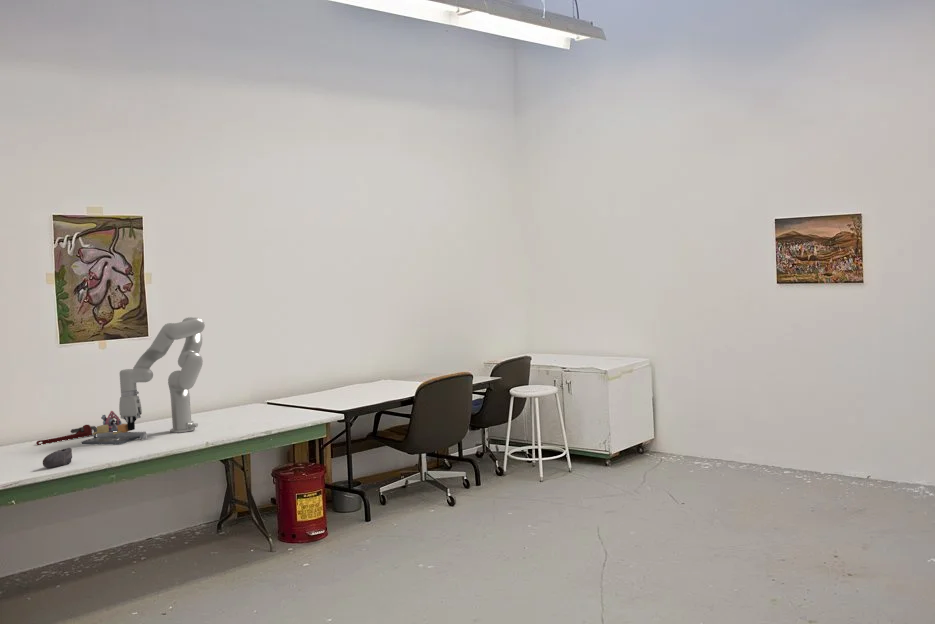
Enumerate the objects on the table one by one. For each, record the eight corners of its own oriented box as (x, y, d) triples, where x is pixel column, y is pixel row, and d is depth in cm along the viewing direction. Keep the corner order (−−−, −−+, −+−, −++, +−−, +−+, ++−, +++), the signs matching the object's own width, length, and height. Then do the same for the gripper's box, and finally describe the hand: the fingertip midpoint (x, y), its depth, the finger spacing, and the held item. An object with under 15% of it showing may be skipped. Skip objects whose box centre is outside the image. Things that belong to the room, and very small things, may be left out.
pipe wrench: (36, 446, 434) (96, 435, 455) (37, 446, 432) (98, 435, 453) (34, 433, 434) (95, 422, 455) (36, 434, 432) (97, 423, 453)
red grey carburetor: (116, 428, 456) (103, 410, 458) (103, 441, 459) (90, 423, 461) (130, 424, 467) (117, 407, 469) (117, 436, 470) (105, 419, 471)
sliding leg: (131, 433, 439) (130, 423, 439) (117, 438, 428) (116, 427, 428) (124, 433, 440) (123, 423, 440) (110, 438, 429) (109, 427, 429)
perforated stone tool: (47, 470, 371) (45, 454, 371) (39, 469, 374) (37, 454, 373) (77, 462, 385) (76, 447, 384) (69, 462, 387) (68, 446, 387)
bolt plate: (148, 437, 437) (147, 424, 437) (129, 444, 422) (128, 430, 422) (102, 438, 444) (101, 424, 443) (81, 444, 428) (80, 430, 428)
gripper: (146, 392, 437) (148, 428, 438) (120, 392, 440) (123, 428, 441) (137, 394, 430) (140, 431, 431) (111, 395, 433) (113, 431, 434)
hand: (131, 429), depth 436 cm, fingers closed
